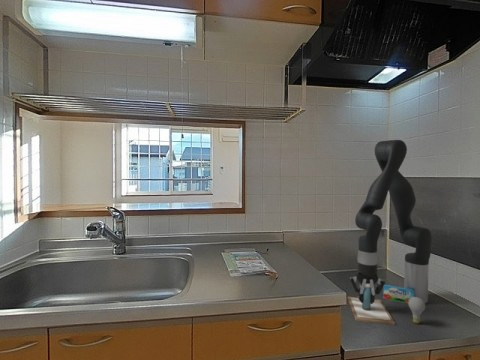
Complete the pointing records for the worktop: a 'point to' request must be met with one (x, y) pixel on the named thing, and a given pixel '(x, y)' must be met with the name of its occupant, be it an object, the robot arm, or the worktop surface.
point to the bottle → (367, 297)
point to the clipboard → (370, 312)
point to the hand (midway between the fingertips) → (366, 302)
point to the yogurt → (397, 293)
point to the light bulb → (416, 308)
